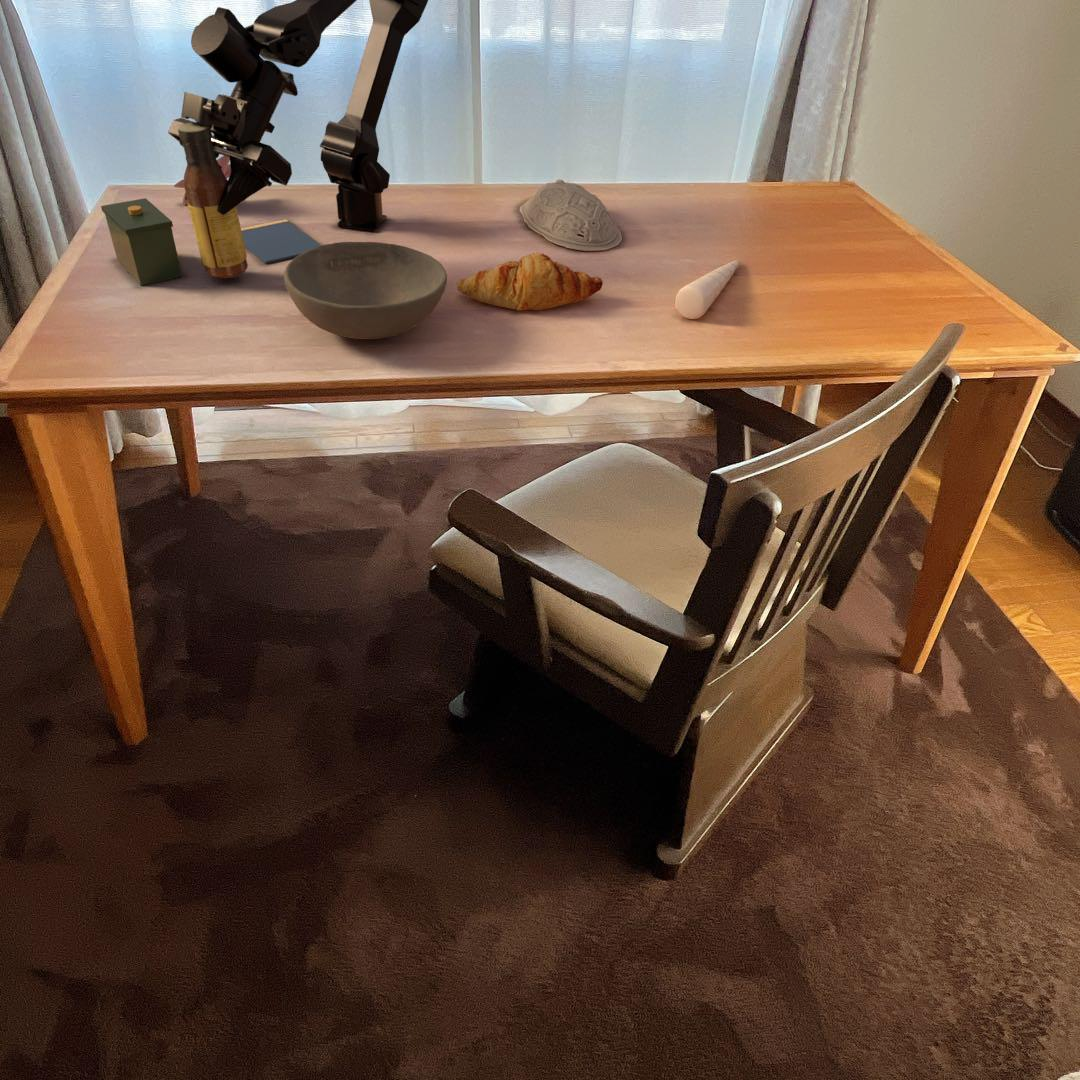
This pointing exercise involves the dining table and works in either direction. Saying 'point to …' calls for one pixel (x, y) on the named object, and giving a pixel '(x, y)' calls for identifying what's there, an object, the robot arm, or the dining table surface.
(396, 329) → the bowl
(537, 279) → the croissant
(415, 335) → the dining table surface
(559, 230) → the grey domed shell
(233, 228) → the sauce bottle
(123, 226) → the tin box
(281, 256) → the blue book
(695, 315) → the unicorn horn
